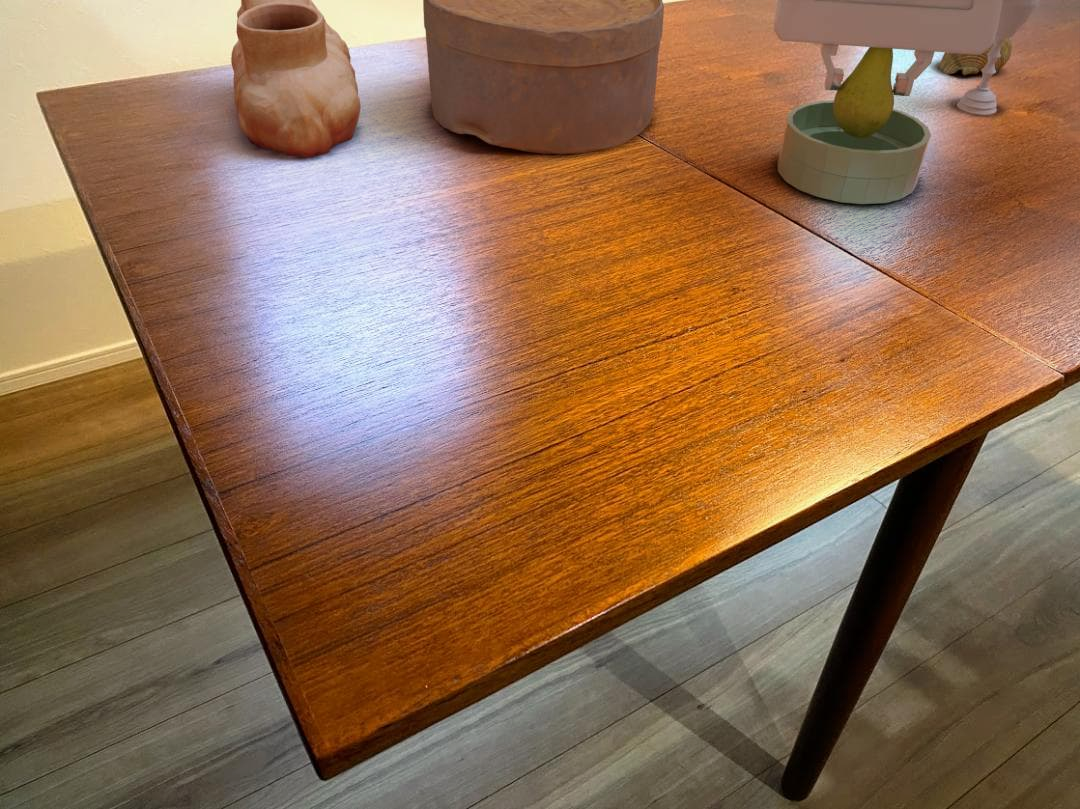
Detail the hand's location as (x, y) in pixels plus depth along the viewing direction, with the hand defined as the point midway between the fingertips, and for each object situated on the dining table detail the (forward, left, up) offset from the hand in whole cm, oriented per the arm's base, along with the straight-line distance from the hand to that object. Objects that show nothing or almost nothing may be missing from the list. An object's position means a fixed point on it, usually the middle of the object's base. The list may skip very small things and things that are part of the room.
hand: (865, 91), depth 89 cm
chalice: (-18, -25, -10) cm, 32 cm away
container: (+35, -11, -10) cm, 38 cm away
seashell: (-20, -40, -10) cm, 46 cm away
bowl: (0, 0, -9) cm, 9 cm away
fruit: (0, 0, -5) cm, 5 cm away
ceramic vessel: (+63, -3, -10) cm, 64 cm away
